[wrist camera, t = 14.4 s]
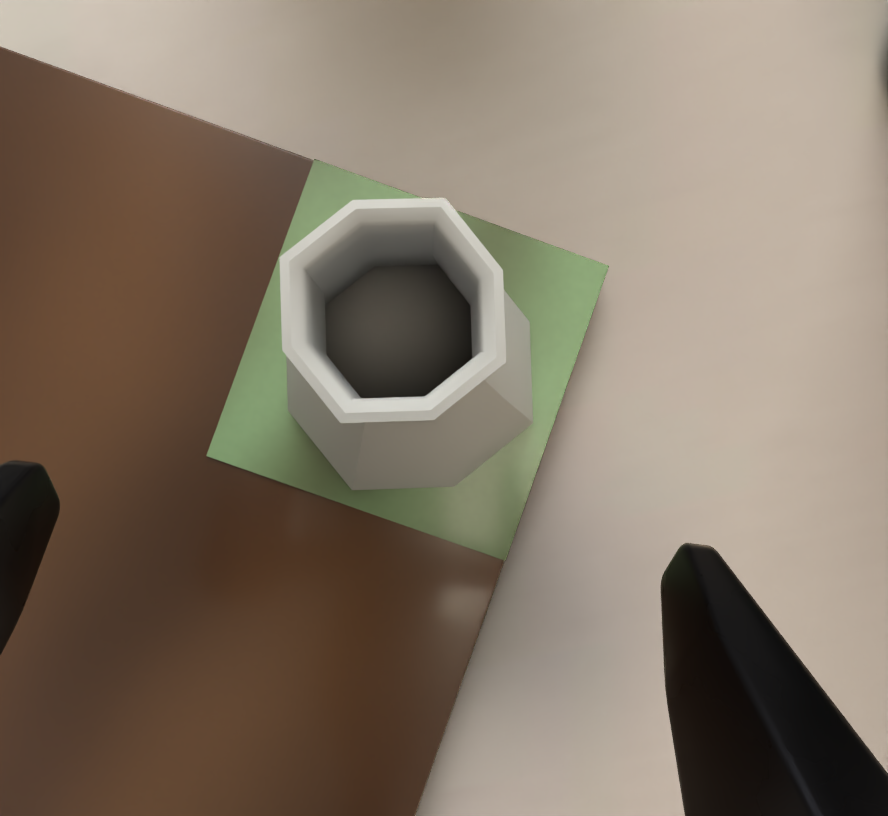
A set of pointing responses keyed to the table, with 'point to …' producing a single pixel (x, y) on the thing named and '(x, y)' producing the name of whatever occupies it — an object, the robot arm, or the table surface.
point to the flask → (402, 345)
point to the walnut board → (221, 482)
